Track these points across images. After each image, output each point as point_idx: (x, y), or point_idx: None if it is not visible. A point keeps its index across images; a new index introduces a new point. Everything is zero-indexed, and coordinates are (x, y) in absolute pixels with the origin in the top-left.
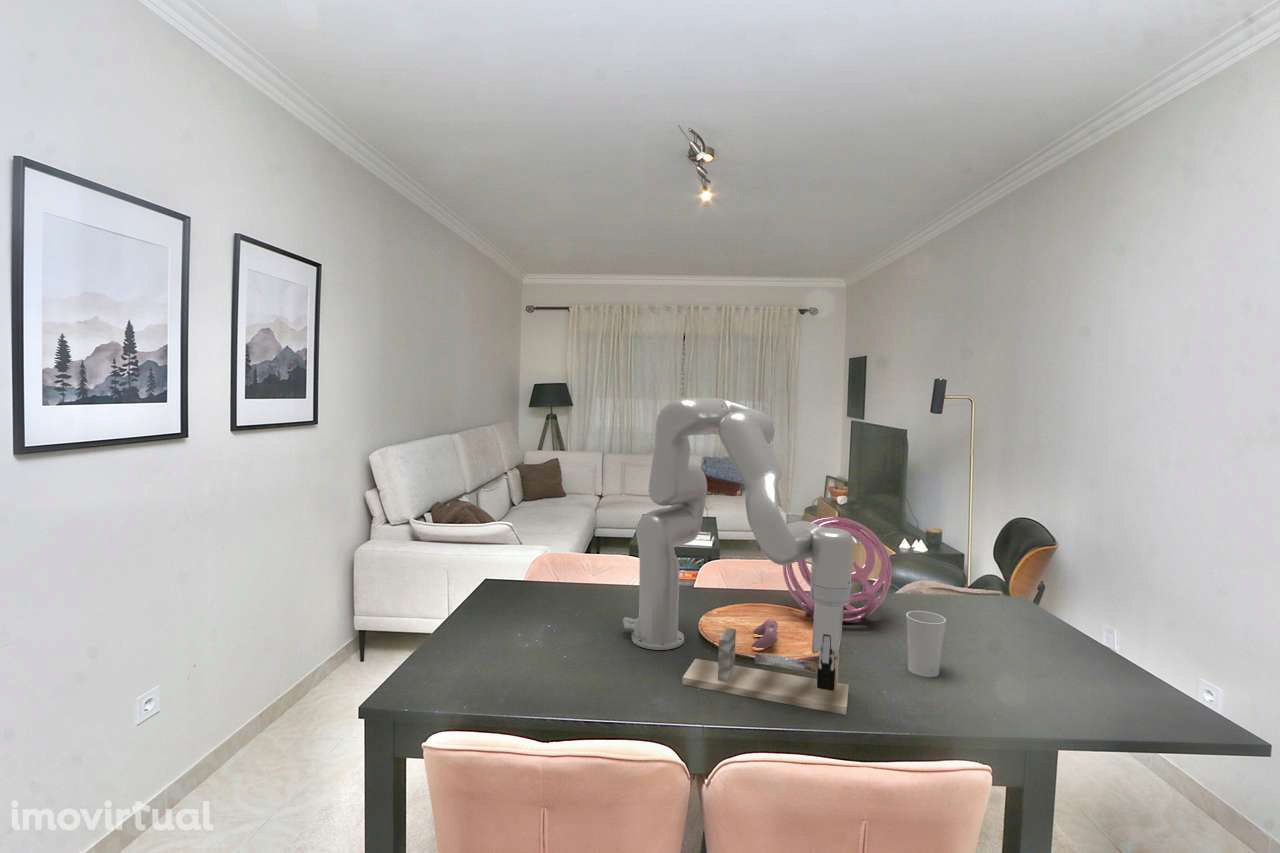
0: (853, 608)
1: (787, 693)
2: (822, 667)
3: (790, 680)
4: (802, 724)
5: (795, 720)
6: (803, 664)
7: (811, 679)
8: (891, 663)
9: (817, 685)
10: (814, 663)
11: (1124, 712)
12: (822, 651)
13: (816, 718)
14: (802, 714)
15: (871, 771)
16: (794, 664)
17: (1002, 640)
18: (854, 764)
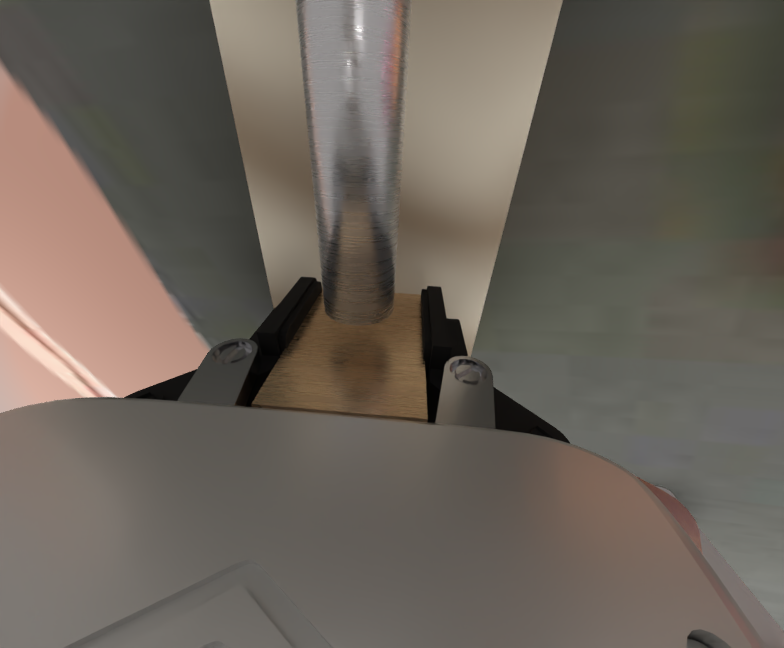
0: None
1: (268, 99)
2: (188, 377)
3: (448, 103)
4: (127, 197)
5: (134, 164)
6: (318, 223)
7: (487, 232)
8: (694, 462)
9: (300, 281)
10: (338, 310)
11: None
12: (440, 399)
13: (211, 249)
14: (204, 193)
15: (57, 371)
16: (308, 133)
17: (775, 604)
18: (48, 342)
